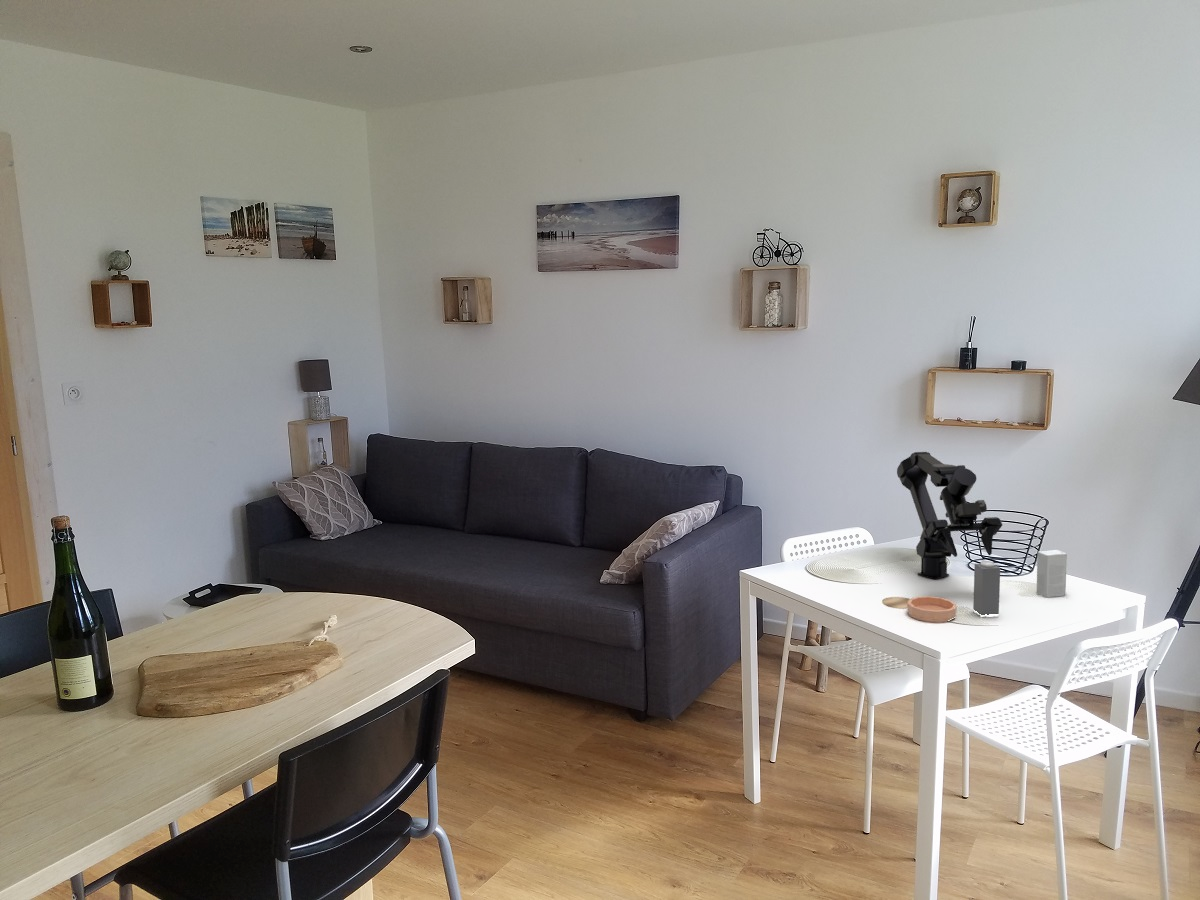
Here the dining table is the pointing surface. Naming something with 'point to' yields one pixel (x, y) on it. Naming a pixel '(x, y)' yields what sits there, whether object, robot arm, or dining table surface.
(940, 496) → the robot arm
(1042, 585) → the skincare box
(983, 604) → the canister
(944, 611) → the ring dish
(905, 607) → the cork coaster
